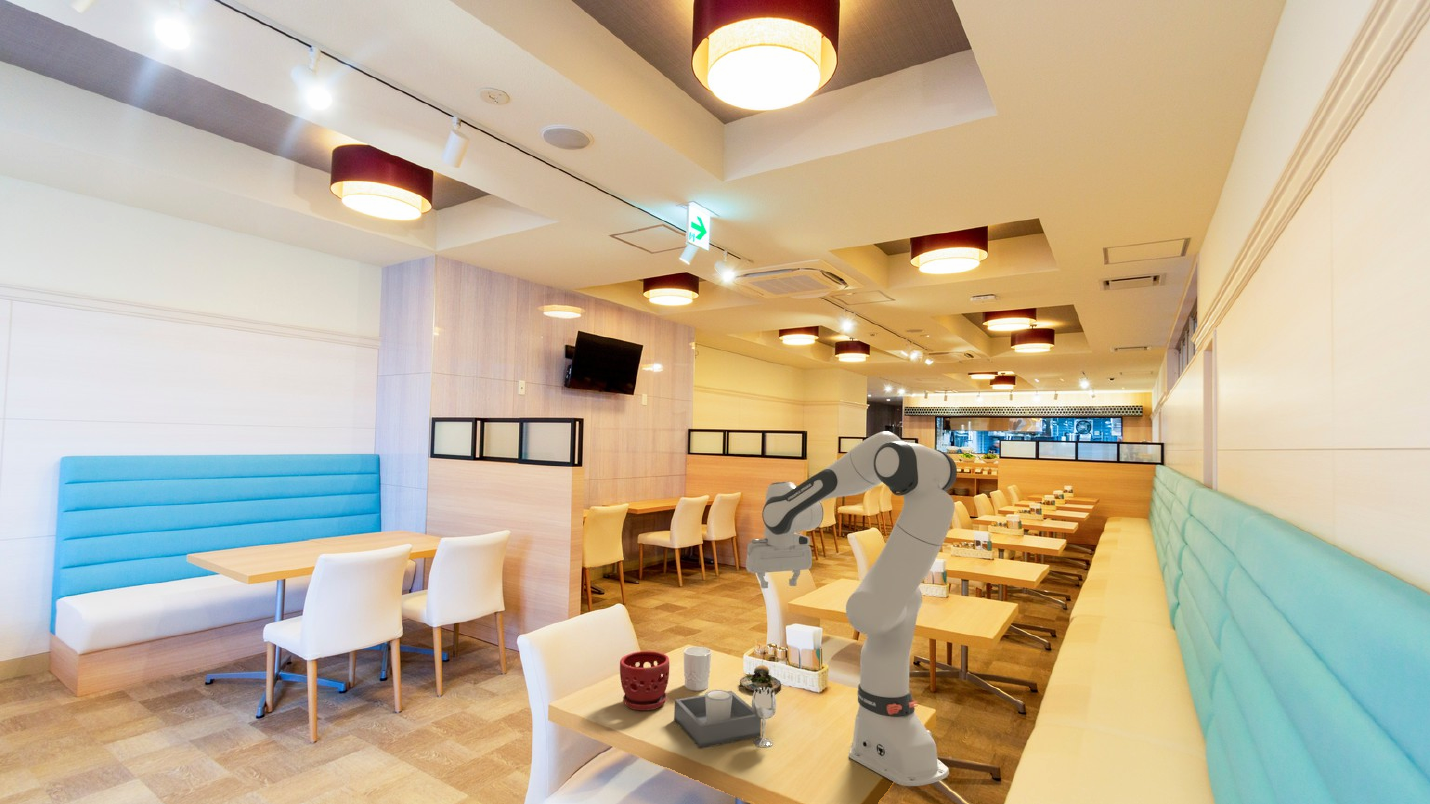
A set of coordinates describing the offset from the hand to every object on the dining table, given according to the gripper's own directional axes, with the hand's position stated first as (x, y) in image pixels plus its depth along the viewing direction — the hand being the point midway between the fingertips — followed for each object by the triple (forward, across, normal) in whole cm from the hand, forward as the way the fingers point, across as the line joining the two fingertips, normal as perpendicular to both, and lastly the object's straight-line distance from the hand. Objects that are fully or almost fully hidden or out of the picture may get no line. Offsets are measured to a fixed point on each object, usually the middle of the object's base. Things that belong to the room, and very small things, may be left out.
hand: (778, 586), depth 186 cm
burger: (+30, -3, +4) cm, 30 cm away
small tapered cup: (+28, -26, -15) cm, 41 cm away
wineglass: (+29, -19, -26) cm, 44 cm away
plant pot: (+29, -38, +5) cm, 48 cm away
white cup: (+29, -20, +11) cm, 37 cm away
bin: (+29, -26, -15) cm, 42 cm away
